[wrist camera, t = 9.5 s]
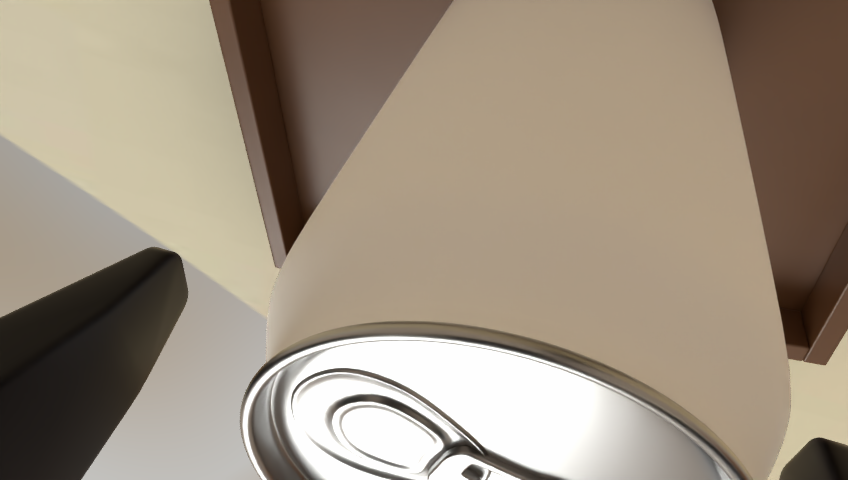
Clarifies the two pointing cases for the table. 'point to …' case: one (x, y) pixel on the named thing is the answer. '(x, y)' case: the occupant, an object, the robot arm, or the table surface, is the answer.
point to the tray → (419, 15)
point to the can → (534, 266)
